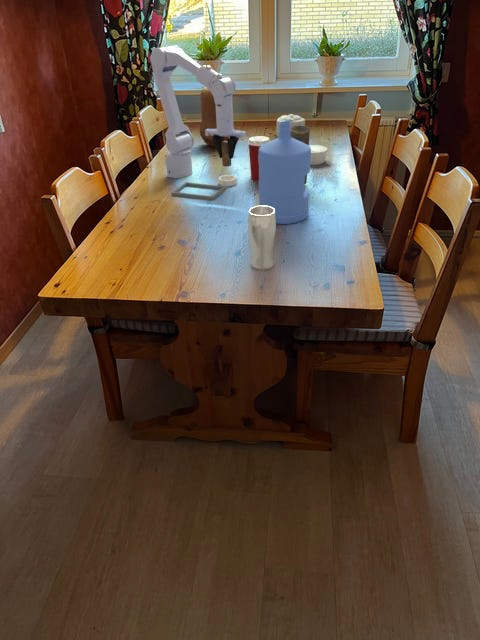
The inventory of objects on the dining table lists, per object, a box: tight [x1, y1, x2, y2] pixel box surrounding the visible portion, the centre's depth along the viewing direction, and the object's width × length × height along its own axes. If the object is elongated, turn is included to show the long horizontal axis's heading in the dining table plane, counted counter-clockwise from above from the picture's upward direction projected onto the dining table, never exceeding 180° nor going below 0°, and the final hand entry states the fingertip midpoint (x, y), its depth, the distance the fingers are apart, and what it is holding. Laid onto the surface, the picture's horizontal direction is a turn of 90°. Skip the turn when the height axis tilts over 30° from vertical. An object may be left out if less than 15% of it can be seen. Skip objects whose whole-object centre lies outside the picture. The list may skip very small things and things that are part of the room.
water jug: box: [258, 121, 311, 225], centre depth 149 cm, size 16×16×28 cm
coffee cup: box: [247, 135, 271, 182], centre depth 181 cm, size 8×8×15 cm
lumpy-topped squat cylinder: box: [276, 113, 306, 138], centre depth 234 cm, size 10×13×9 cm
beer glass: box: [247, 205, 277, 271], centre depth 126 cm, size 7×7×15 cm
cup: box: [218, 174, 238, 187], centre depth 181 cm, size 6×6×3 cm
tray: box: [171, 181, 227, 201], centre depth 174 cm, size 16×11×2 cm
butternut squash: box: [199, 86, 230, 149], centre depth 218 cm, size 14×13×25 cm
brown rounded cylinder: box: [290, 125, 311, 185], centre depth 173 cm, size 8×7×20 cm
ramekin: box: [309, 144, 329, 166], centre depth 200 cm, size 11×11×5 cm
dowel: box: [221, 141, 232, 167], centre depth 175 cm, size 3×3×8 cm
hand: (226, 157), depth 176 cm, fingers closed on dowel, 3 cm apart
